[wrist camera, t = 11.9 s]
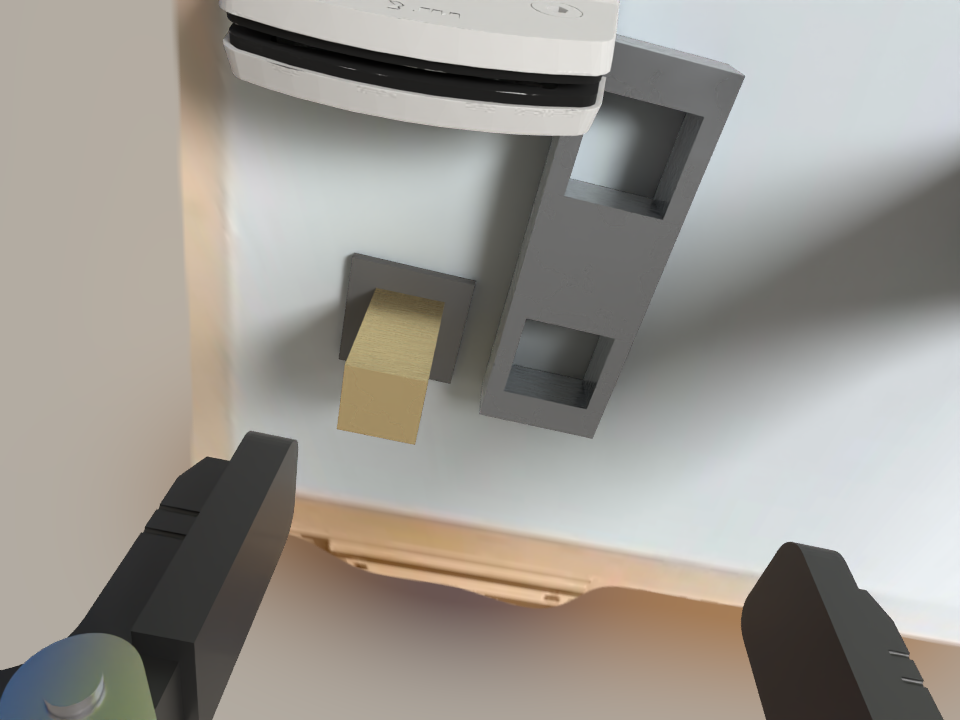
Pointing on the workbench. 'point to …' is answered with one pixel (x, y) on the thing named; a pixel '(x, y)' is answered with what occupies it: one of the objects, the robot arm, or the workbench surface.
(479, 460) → the workbench surface
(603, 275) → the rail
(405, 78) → the white arched device
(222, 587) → the robot arm
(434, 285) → the pad
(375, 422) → the tan wooden beam
